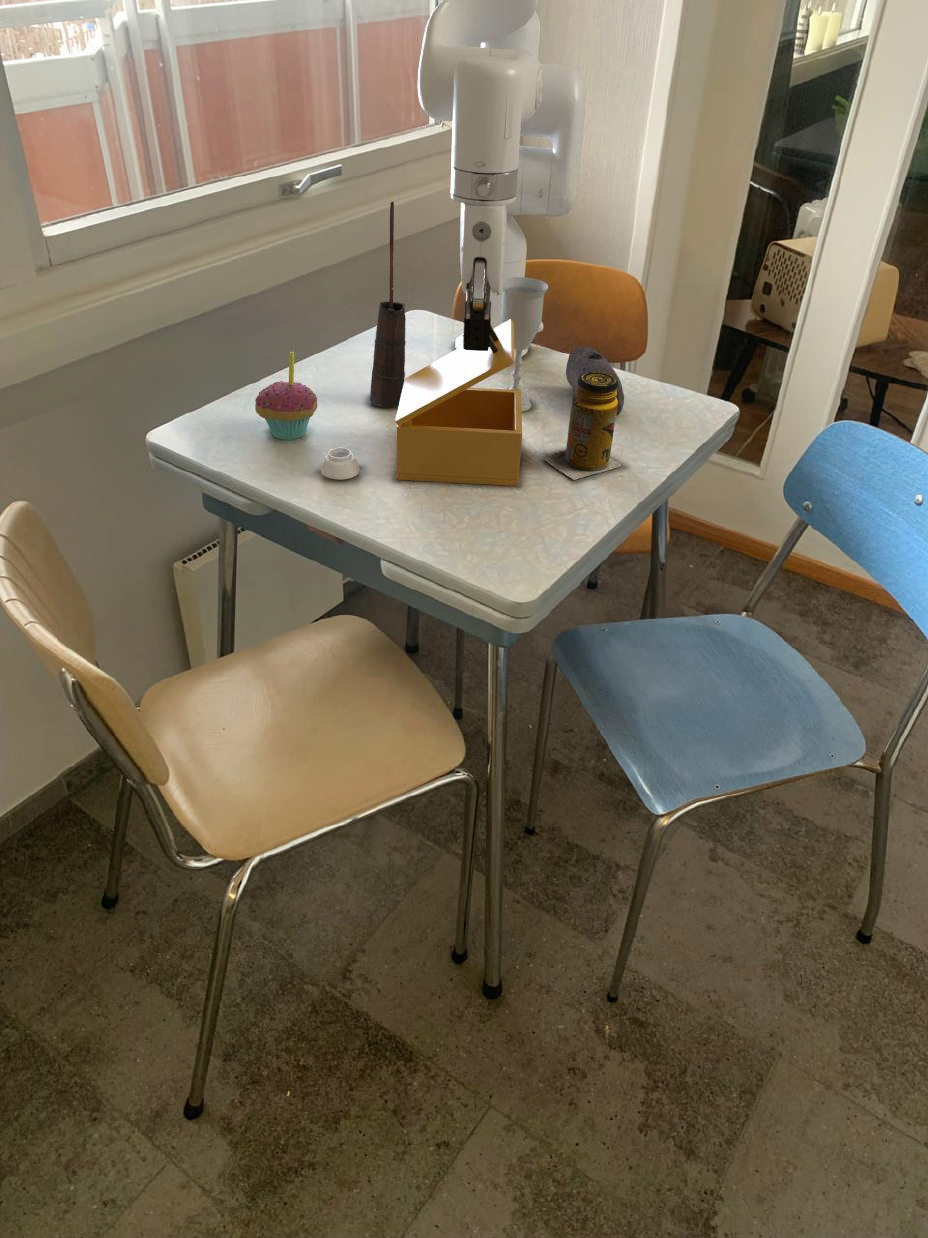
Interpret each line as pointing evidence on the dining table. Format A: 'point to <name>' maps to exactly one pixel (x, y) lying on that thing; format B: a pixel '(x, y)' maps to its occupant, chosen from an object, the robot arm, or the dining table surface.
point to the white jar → (340, 464)
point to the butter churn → (389, 345)
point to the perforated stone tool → (591, 369)
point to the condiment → (589, 428)
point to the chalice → (522, 320)
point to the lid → (455, 373)
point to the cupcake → (287, 406)
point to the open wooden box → (464, 440)
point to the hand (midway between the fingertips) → (476, 339)
